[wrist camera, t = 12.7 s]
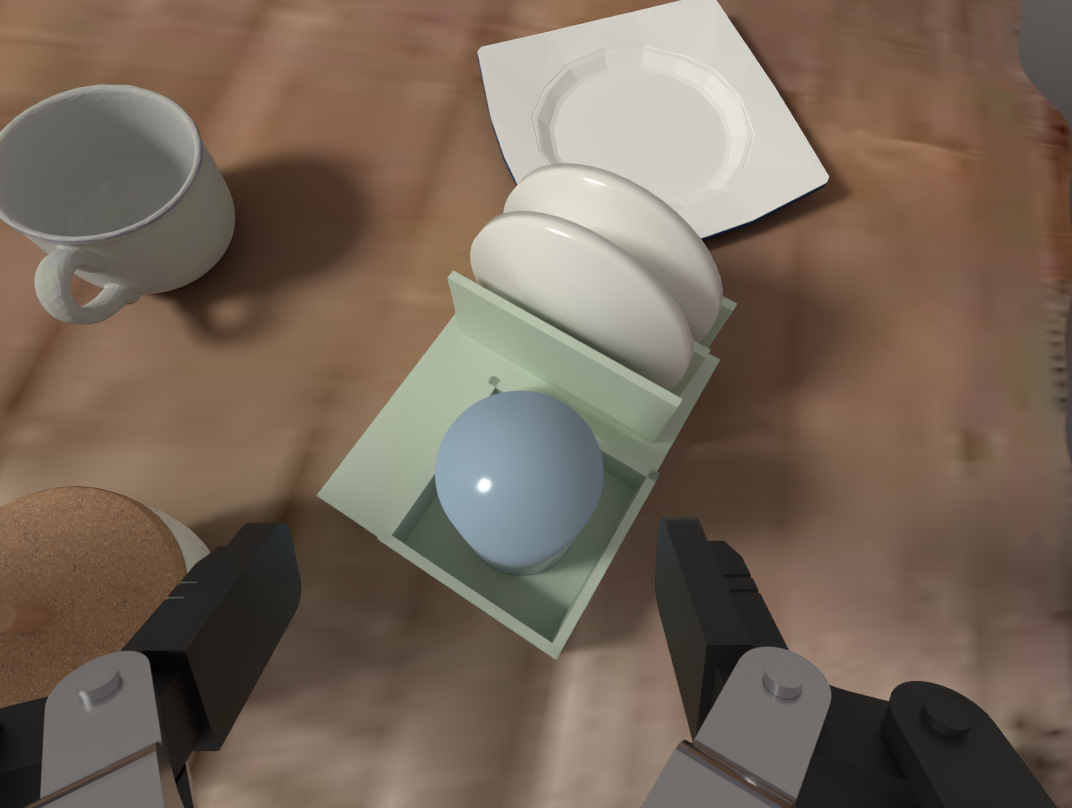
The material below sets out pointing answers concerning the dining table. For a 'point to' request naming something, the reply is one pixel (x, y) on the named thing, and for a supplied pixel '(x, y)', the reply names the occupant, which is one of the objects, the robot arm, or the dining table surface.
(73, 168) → the teacup
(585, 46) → the plate
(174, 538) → the lidded jar
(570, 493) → the dome-topped blue cylinder
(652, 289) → the racked plates
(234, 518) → the dining table surface
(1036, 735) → the dining table surface
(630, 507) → the rack
